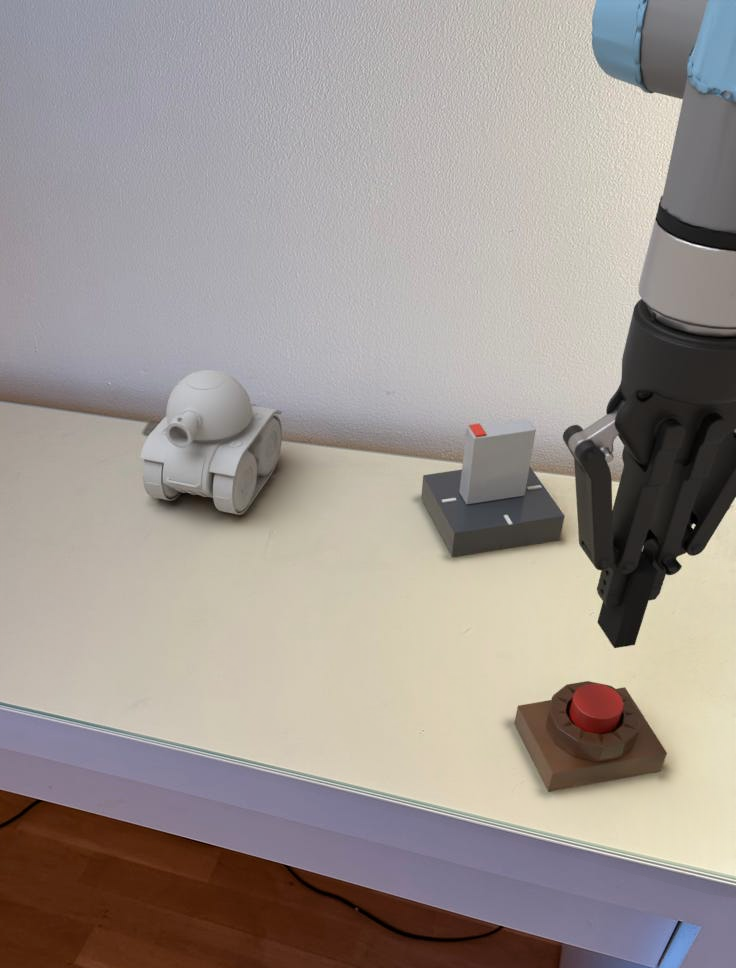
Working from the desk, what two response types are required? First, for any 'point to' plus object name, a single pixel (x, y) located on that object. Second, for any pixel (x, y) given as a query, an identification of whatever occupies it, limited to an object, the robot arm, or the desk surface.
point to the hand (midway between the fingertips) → (615, 633)
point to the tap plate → (490, 516)
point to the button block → (586, 742)
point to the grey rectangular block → (496, 460)
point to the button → (596, 708)
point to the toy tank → (212, 443)
